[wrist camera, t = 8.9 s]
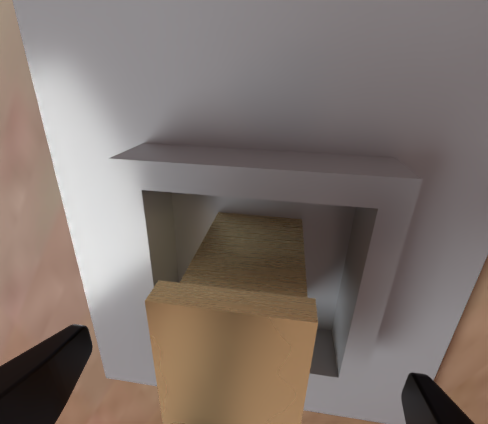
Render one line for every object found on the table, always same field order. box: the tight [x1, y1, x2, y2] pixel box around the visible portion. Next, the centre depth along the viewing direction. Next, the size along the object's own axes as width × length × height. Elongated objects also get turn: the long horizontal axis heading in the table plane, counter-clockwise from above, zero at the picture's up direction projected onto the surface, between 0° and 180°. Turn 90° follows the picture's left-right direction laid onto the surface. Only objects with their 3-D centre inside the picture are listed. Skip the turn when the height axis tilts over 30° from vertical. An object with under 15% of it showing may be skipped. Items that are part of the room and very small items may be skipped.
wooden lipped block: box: [145, 212, 318, 424], centre depth 10 cm, size 6×4×7 cm, turn 178°
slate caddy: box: [13, 0, 488, 424], centre depth 12 cm, size 20×18×3 cm
